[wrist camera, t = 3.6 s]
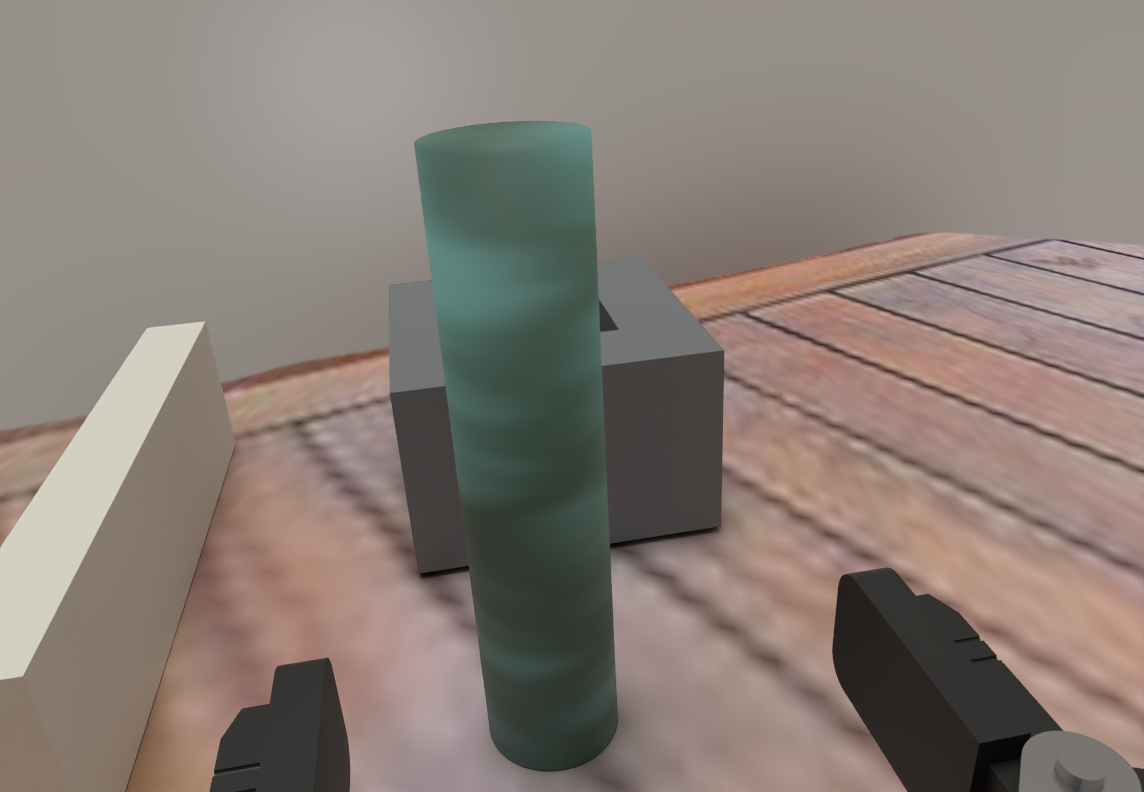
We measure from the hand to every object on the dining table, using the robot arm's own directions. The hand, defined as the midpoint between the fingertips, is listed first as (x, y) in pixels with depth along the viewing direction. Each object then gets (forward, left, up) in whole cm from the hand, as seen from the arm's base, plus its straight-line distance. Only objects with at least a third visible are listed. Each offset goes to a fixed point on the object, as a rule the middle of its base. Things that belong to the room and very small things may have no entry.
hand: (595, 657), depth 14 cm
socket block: (+2, +21, -9) cm, 23 cm away
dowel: (0, +8, -9) cm, 12 cm away
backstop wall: (-13, +17, -9) cm, 23 cm away
